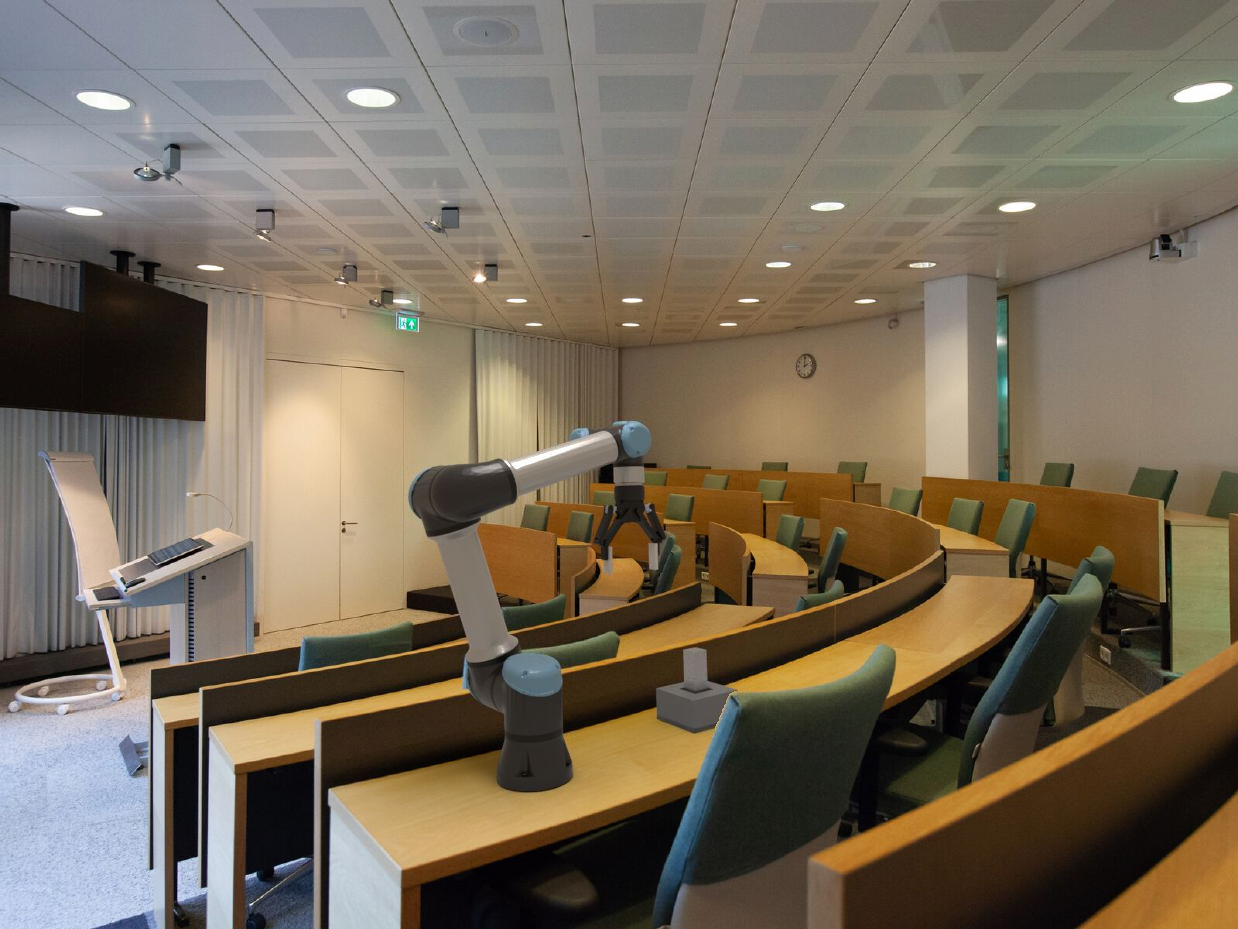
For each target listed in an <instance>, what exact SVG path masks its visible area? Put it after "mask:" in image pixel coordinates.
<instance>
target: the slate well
mask: <svg viewBox="0 0 1238 929" xmlns="http://www.w3.org/2000/svg"><path fill="white" fill-rule="evenodd" d="M707 684H708V691H705V692H701V693H696V694H694V693H691V692H688V691H685V690H684V681H681V682H678V683H673V684H669V685H665V686H660V687H657V688H655V695H656V697H655V699H656V700H655V701H656V720H658V721H661V722H663V723H667V724H669V725H671V726H674V727H676V728H679V729H682V730H684V731H688V732H690V733H692V734H697V732H698V733H701V732H705V731H708V730H712V729H715V726H716V724H717V722H718V721H719V717H720V715H721V713H722V709H723V708H724V705H725V704H726V700H727V698H728V696H729V694H730V693H732V692H734V691H737V692H738V689H736V688H733V687H729V686H726V685H723V684H719V683H717V682H712V681H709V680H707Z"/></svg>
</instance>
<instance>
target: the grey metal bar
mask: <svg viewBox="0 0 1238 929" xmlns="http://www.w3.org/2000/svg"><path fill="white" fill-rule="evenodd" d="M682 652H683V653H682V654H683V657H682V658H683V682H684V690H685V691H688V692H691V693H694V694H696V693H701V692H705V691H708V684H707V681H708V660H707V658H708V657H707V649H704V648H699V647H690V648H685V649H683V650H682Z"/></svg>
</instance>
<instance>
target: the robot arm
mask: <svg viewBox="0 0 1238 929" xmlns="http://www.w3.org/2000/svg"><path fill="white" fill-rule="evenodd" d="M650 432H651V431H650V430H649V429H648V427H647V426H646V425H644V424H643V423H641V422H640V421H636V420H625V421H624V420H622V421H615V422H613V423H612V425H610V426H602V427H597V428H588V427H584V428H576V429H574V430H572V432H571V434H570V435H569V439H568V441H566V442H563V443H559V444H557V445H554V446H550V447H548V448H544V449H543V448H542V449H540V450H538V451H535V452H531V453H528V454H525V455H522V456H521V455H520V456H518V457H515V458H512V459H509V460H506V459H504V458H501V457H499V458H498V457H497V458H495V459H492V460H489V461H482V462H474V463H472V462H471V463H456V464H448V465H441V464H439V465H436V466H431V467H429V468H426V469H423V470H422V471H421V472H419V473H418V474H417V475H416V476H415V477H414V478H413V480H412V482H411V484H410V486H409V489H408V493H407V499H408V505H409V507H410V509H411V511H412V513H413V514H414V515H415V516H416V517H417V518H418V519H420V520H421V523H422V524H423V528H424V531H425V535H426V538H427V539H429V540H431V541H433V542H435V543H436V544H437V547H438V551H439V555H440V557H441V559H442V560H441V561H442V563H443V567H444V570H445V573H446V576H447V581H448V583H449V586H450V589H451V592H452V595H453V598H454V602H455V604H456V605H455V606H456V609H457V612H458V614H459V618H460V620H461V623H462V627H463V630H464V634H465V636H466V639H467V642H468V646H469V649H468V651H467V652H466V653H465V661H466V664H467V669H466V671H465V684H466V687H467V690H468V692H469V693H470V694H471V696H472V697H473V698H474V699H475V700H476V701H478V703H480V704H481V705H483V706H486V707H489V708H490V709H493V710H495V711H496V712H499V713H501V714H503V715H504V718H503V719H504V722H503V723H504V725H503V726H504V742H503V745H502V749H501V751H500V755H499V759H498V763H497V766H496V781H497V783H498V784H499V786H501V788H502V787H503V788H504V789H506V790H507V789H508V790H512V791H517V792H518V791H519V792H540V791H546V790H551V789H554V788H557V787H560V786H562V785H565V784H566V783H568V782H569V781H570V780H571V779H572V778H573V775H574V769H573V768H574V767H573V761H572V758H571V754H570V751H569V749H568V745H567V744H566V743H567V742H566V739H565V737H564V723H563V722H564V721H563V720H564V719H563V717H564V716H563V714H564V713H563V682H564V681H563V676H562V668H561V664H560V662H559V661H558V660H557V659H556V658H555V657H552V656H550V655H547V654H543V653H540V654H539V653H537V652H522V648H521V645H520V643H519V640H518V639H519V638H517V637H516V636H514V635H512V634H510V633H509V632H508V627H507V625H506V621H505V618H504V615H503V611H502V609H501V608H502V607H501V605H500V602H499V598H498V594H497V592H496V589H495V585H494V582H493V579H492V578H493V577H492V575H491V572H490V568H489V566H488V562H487V559H486V555H485V553H484V549H483V545H482V542H481V538H480V536H479V533H478V528H479V526H480V524H481V522H482V517H485V516H486V515H487V516H488V514H491V513H494V512H496V511H498V510H500V509H503V508H505V507H509V506H511V505H514V504H515V503H517V501H518V499H519V497H521V496H523V495H527V494H530V493H532V492H535V491H538V490H540V489H543V488H546V487H548V486H553V485H555V484H558V483H560V482H563V481H567V480H568V479H571V478H574V477H577V476H580V475H582V474H586V473H588V472H592V471H594V470H597V469H600V468H602V467H605V466H608V465H611V464H612V467H613V483H614V484H616V486H614V487H613V498H614V501H615V503H614V505H612V504H606V505H604V506H603V514H602V517H601V520H600V522H599V524H598V528H597V530H596V533H595V535H594V539H593V540H592V542H593V544H594V545H597V546H598V547H600V559H601V561H603V574H605V575H614V574H613V572H614V569H613V564H614V563H613V546H610V545H611V543H612V542H613V540H614V538H615V536H616V535H617V534H618V532H619V530H621V527H622V526H623V525H625V524H631V523H636V524H638V525H639V528H640V529H641V530H642V531H643V532H644V534H645V535H646V536H647V537H648V539H649V540H650V542H648V570H653V571H657V570H659V556H660V554H661V551H660V550H661V548H660V547H661V546H660V545H661V544H662V543H663V540H664V541H665V540H666V539H667V535H666V534H665V530H664V528H663V525H662V524H661V521H660V519H659V517H658V515H657V513H656V512H657V511H656V504H655V503H644V502H645V499H646V491H645V490H646V489H645V488H646V487H645V486H644V485H643V483H645V482H646V481H645V479H646V478H645V465H644V464H645V463H644V461H645V460H644V459H645V458H644V456H645V455H646V454H647V453H648V452H649V450H650V449H651V446H652V436H651V433H650ZM644 512H645V514H646V516H647V517H646V516H645V514H644ZM614 514H616V515H615V517H614ZM613 517H614V518H613ZM611 522H612V524H611Z"/></svg>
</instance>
